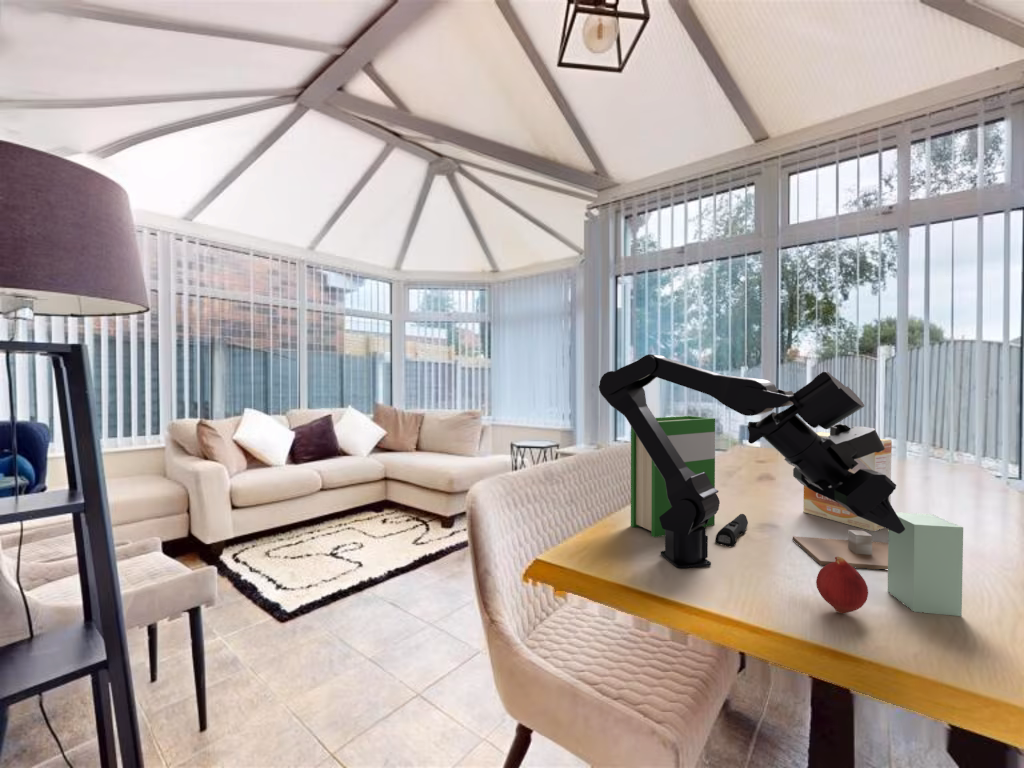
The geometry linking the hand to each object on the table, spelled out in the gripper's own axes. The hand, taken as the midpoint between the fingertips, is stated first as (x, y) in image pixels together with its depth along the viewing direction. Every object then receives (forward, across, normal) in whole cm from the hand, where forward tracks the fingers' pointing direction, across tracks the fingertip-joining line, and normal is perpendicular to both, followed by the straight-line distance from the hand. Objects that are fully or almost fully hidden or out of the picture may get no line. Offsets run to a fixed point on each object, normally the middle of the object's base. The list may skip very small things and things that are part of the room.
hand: (881, 520), depth 66 cm
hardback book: (-10, +28, +27) cm, 40 cm away
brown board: (+12, +18, +4) cm, 22 cm away
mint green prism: (+12, 0, +5) cm, 13 cm away
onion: (+3, -5, +14) cm, 15 cm away
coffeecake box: (+18, +40, -1) cm, 44 cm away
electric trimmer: (-1, +25, +19) cm, 31 cm away
